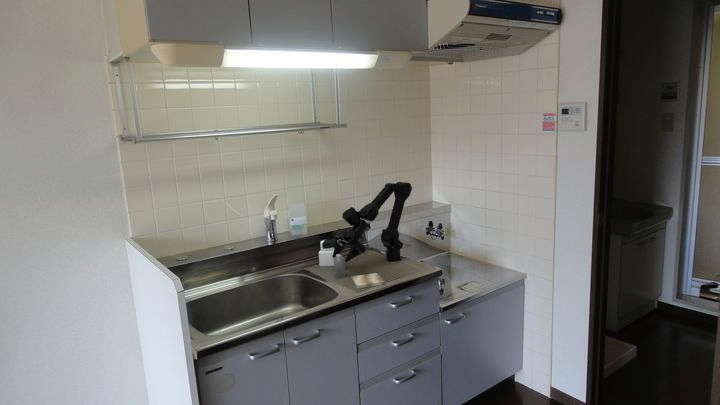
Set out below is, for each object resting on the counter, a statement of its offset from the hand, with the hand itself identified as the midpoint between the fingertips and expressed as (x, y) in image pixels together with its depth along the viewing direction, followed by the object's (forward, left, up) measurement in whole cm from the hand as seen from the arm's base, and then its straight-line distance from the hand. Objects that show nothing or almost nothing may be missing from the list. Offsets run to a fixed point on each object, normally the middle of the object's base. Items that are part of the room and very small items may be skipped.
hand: (339, 259), depth 210 cm
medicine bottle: (+2, -20, -8) cm, 22 cm away
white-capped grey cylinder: (0, 0, -8) cm, 8 cm away
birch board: (-10, +11, -8) cm, 17 cm away
